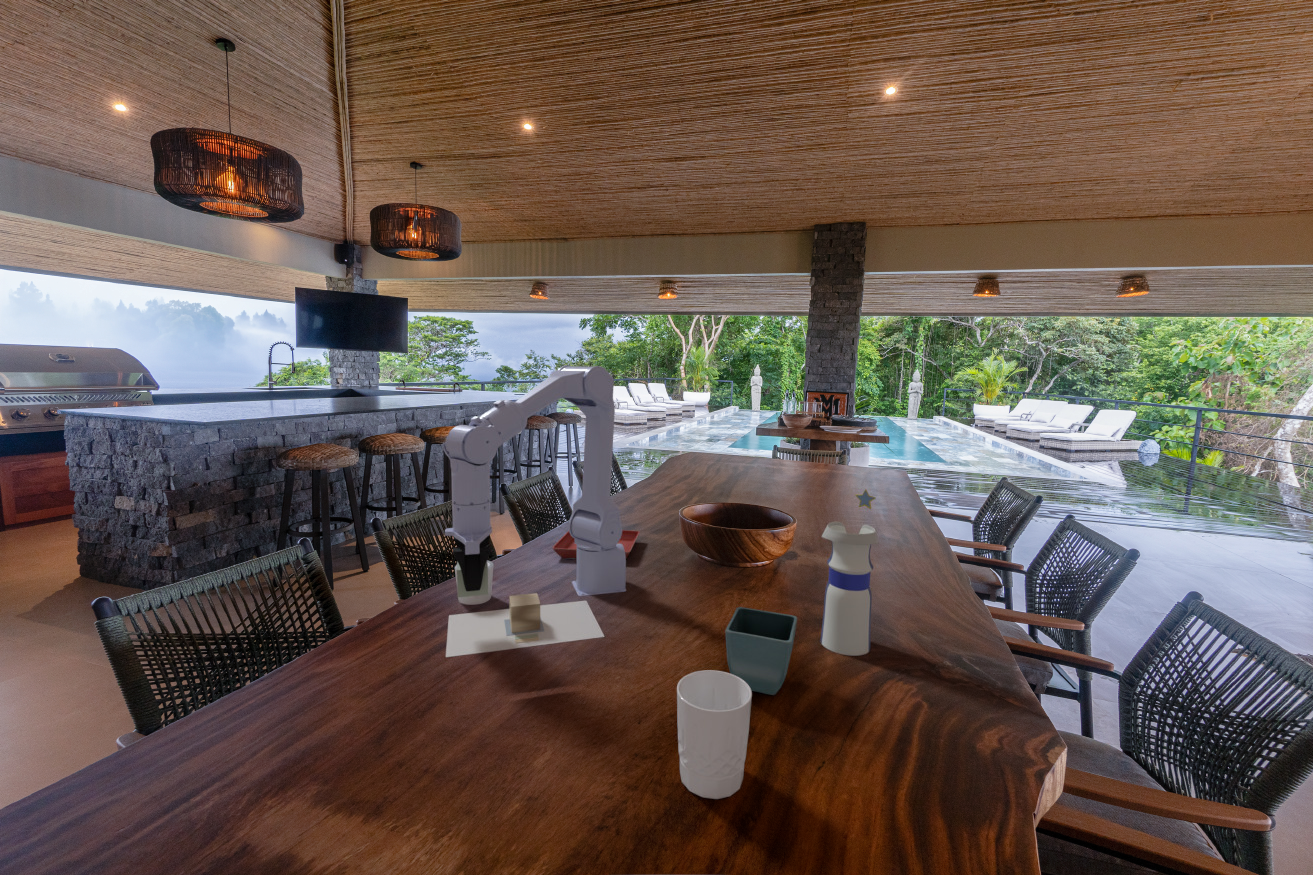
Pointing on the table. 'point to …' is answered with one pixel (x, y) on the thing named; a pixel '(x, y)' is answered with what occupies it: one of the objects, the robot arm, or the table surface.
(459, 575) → the sage block
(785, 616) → the flower pot
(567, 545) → the plant saucer
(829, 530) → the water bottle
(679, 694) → the white cup
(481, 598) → the white tumbler
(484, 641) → the blueprint baseplate
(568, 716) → the table surface
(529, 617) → the maple block
